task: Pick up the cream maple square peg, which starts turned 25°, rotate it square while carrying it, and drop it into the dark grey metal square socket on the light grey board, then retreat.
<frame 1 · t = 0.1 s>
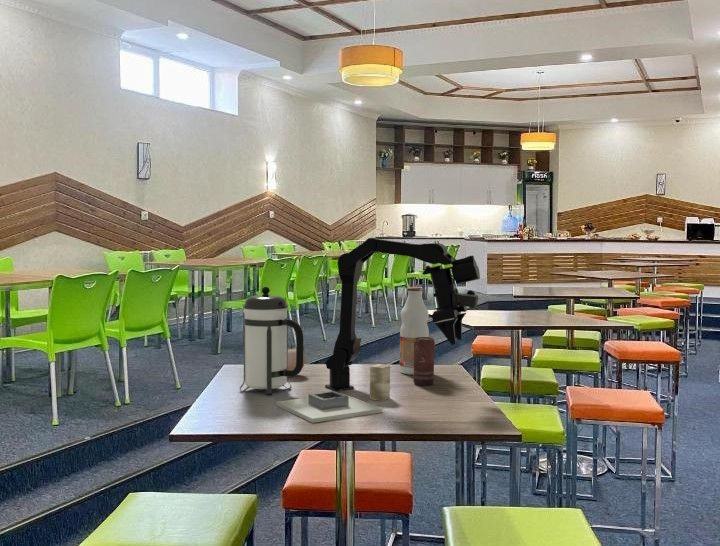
hand: (456, 342, 196), 15 cm above the table, tool pointing down, fingers open, 9 cm apart
can: (424, 384, 214), on the table
coffee press: (270, 391, 204), on the table
fruit juice: (414, 373, 232), on the table
square socket: (328, 400, 183), on the socket board, point 2 cm above the table
socket board: (328, 408, 183), on the table
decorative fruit: (292, 376, 225), on the table
square peg: (379, 398, 195), on the table
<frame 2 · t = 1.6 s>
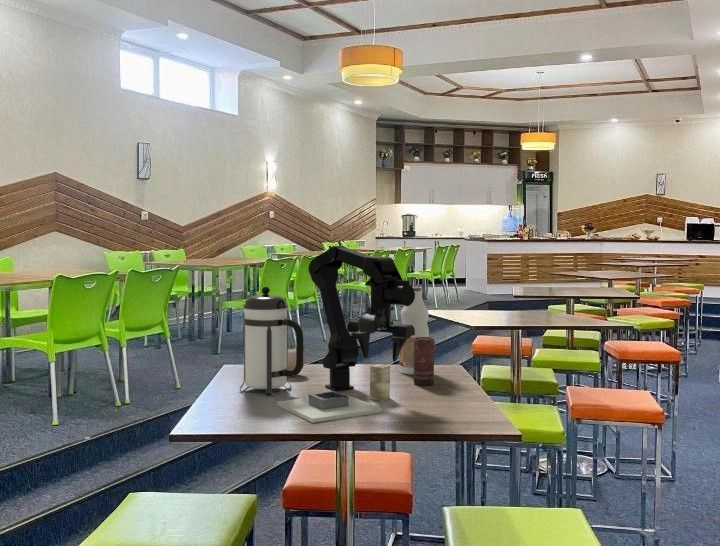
hand: (380, 359, 195), 11 cm above the table, tool pointing down, fingers open, 9 cm apart
nothing on the table moved.
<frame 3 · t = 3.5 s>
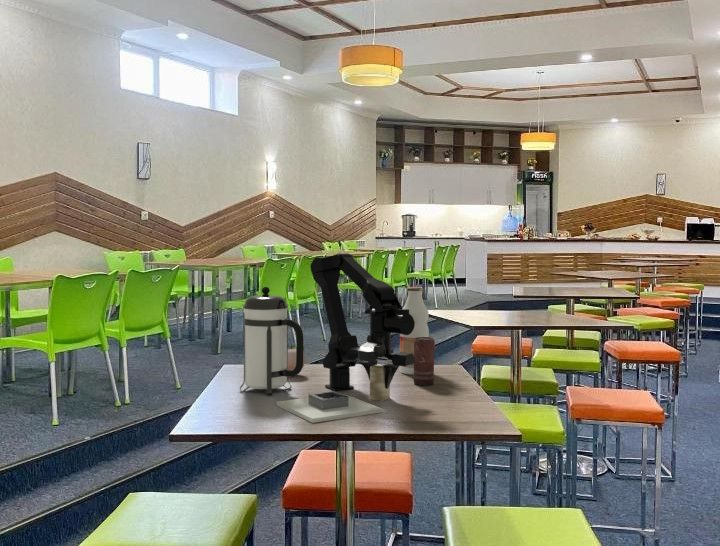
hand: (380, 387, 195), 3 cm above the table, tool pointing down, fingers closed on square peg, 4 cm apart
square peg: (379, 398, 195), on the table, touching gripper
everything else where it was.
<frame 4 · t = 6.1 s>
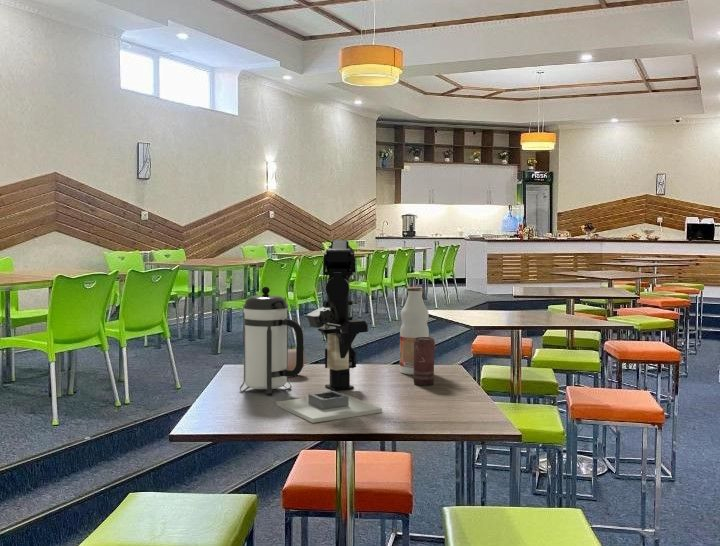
hand: (338, 356, 184), 13 cm above the table, tool pointing down, fingers closed on square peg, 4 cm apart
square peg: (338, 368, 184), point 10 cm above the table, touching gripper
everything else where it was.
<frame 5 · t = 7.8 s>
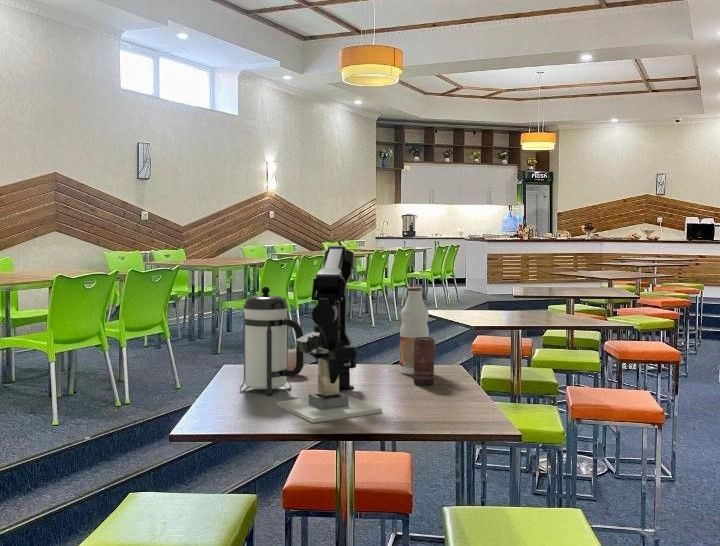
hand: (328, 381, 183), 7 cm above the table, tool pointing down, fingers closed on square peg, 4 cm apart
square peg: (328, 393, 183), point 4 cm above the table, touching gripper
everything else where it was.
when the fingers open (5 cm above the table, at t = 9.1 s): square peg stays where it is, resting on socket board.
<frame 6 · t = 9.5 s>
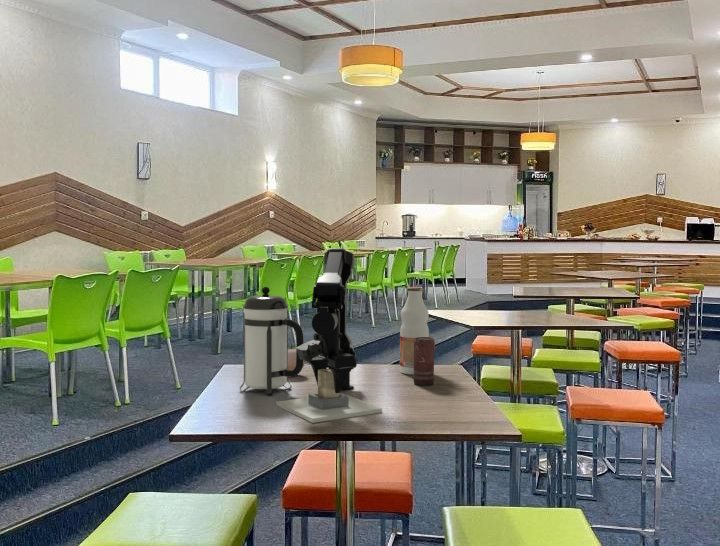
hand: (328, 389, 183), 5 cm above the table, tool pointing down, fingers open, 9 cm apart
square peg: (328, 404, 183), point 1 cm above the table, touching socket board
everything else where it was.
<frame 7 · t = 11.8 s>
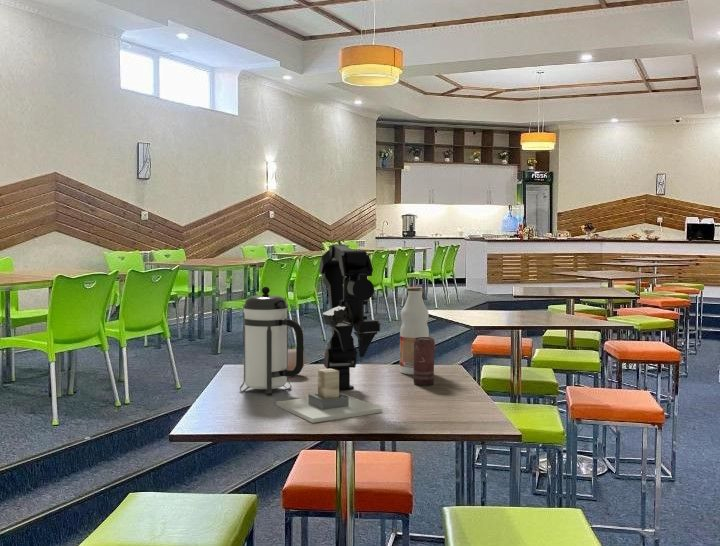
hand: (353, 354, 192), 13 cm above the table, tool pointing down, fingers open, 9 cm apart
nothing on the table moved.
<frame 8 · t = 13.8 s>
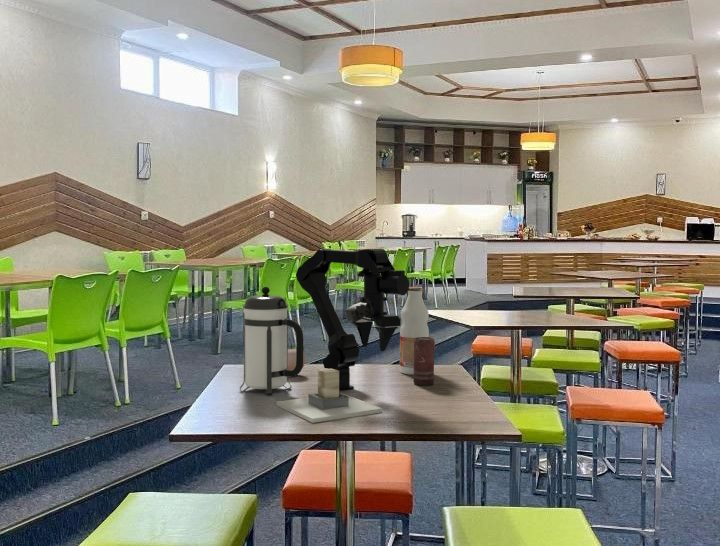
hand: (373, 348, 199), 13 cm above the table, tool pointing down, fingers open, 9 cm apart
nothing on the table moved.
at the end: square peg 0.0 cm off-centre on the socket board, point 1.0 cm above the socket board's base; square peg tilted 0°; the gripper is holding nothing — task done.
